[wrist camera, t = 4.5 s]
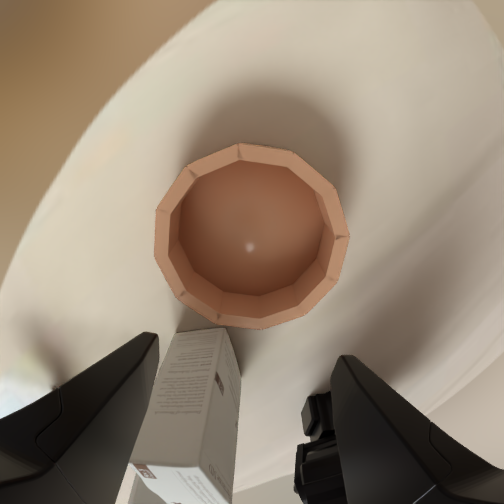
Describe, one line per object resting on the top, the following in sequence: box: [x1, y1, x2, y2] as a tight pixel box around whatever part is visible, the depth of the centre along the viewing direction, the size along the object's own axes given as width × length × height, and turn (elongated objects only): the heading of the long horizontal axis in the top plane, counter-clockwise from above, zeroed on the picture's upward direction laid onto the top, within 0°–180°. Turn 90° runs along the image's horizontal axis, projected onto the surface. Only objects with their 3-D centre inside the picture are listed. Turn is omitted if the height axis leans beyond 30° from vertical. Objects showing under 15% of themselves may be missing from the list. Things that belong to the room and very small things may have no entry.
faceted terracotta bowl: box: [154, 143, 350, 330], centre depth 18 cm, size 10×10×4 cm
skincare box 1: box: [128, 473, 167, 504], centre depth 23 cm, size 6×4×12 cm
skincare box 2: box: [128, 327, 241, 504], centre depth 18 cm, size 6×4×12 cm
